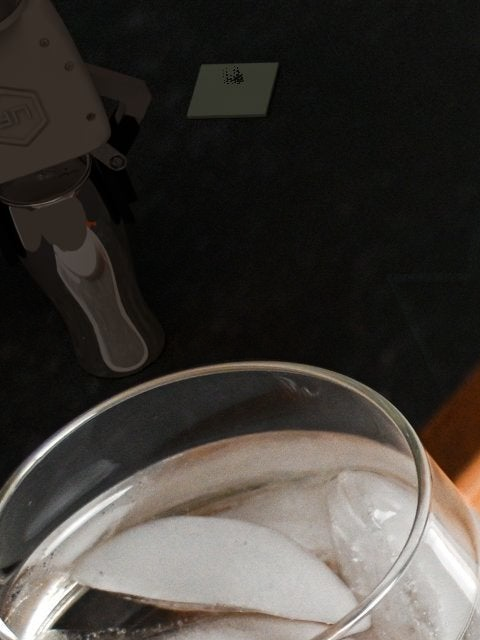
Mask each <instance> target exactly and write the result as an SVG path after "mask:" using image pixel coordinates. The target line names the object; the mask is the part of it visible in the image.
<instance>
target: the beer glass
mask: <svg viewBox="0 0 480 640" xmlns="http://www.w3.org/2000/svg"><path fill="white" fill-rule="evenodd" d="M0 219H1V221H2V224H3V226H4V229H5V231H6V233H7V235H8V237H9V239H10V241H11V243H12V245H13V247H14V249H15V251H16V253H17V255H18V257H19V260H20V262H21V263H22V264H23V266H24V267H25V269H26V270H27V272H28V273H29V275H30V276H31V277H32V279H33V280H34V281H35V283H36V284H37V285H38V287H39V288H40V289H41V291H42V292H43V293H44V295H45V296H47V298H48V299H49V300H50V302H51V303H52V304H53V306H54V307H55V309H56V310H57V311H58V313H59V314H60V315H61V317H62V319H63V320H64V322H65V324H66V327H67V329H68V331H69V335H70V338H71V343H72V347H73V351H74V355H75V358H76V360H77V362H78V364H79V366H80V367H81V368H82V369H83V370H84V371H85V372H86V373H88V374H90V375H93V376H95V377H98V378H104V379H119V378H127V377H129V376H132V374H133V375H136V374H138V373H140V372H142V371H143V370H142V369H143V367H145V366H147V365H149V364H150V363H151V362H153V360H154V362H156V360H158V358H159V357H160V355H161V354H162V352H163V351H164V348H165V344H166V332H165V330H164V327H163V326H162V324H161V322H160V321H159V319H158V318H157V317H156V315H155V314H154V312H153V311H152V309H150V308H151V307H149V306H148V303H147V302H146V301H145V299H144V297H143V295H142V291H141V289H140V287H139V286H140V285H139V283H138V279H137V275H136V269H135V264H134V260H133V259H134V258H133V255H132V249H131V246H130V241H129V237H128V234H127V230H126V227H125V223H124V221H123V219H122V217H121V215H120V212H119V210H118V208H117V206H116V203H115V201H114V199H113V197H112V194H111V192H110V190H109V188H108V186H107V184H106V182H105V179H104V177H103V175H102V172H101V170H100V168H99V166H97V163H96V162H95V160H94V158H93V155H92V154H90V153H88V154H86V155H83V156H80V157H78V158H75V159H72V160H69V161H67V162H64V163H61V164H58V165H55V166H52V167H50V168H47V169H44V170H41V171H38V172H35V173H32V174H29V175H26V176H24V177H21V178H18V179H15V180H12V181H9V182H6V183H3V184H0ZM158 356H159V357H158ZM154 362H153V363H154ZM137 370H140V372H139V371H137Z"/></svg>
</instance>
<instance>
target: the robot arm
mask: <svg viewBox="0 0 480 640" xmlns="http://www.w3.org/2000/svg"><path fill="white" fill-rule="evenodd" d="M101 97H104V98H108V99H111V100H114V101H118V106H117V107H116V108H115V109H114V110H113V112H112V114H111V116H110V118H108V115H107V112H106V109H105V106H104V103H103V101H102V99H101ZM152 98H153V96H152V93H151V91H150V89H149V87H148V85H147V83H146V82H145V81H144V80H143V79H140V78H137V77H134V76H131V75H127V74H124V73H122V72H118V71H114V70H111V69H108V68H105V67H101V66H99V65H95V64H91V63H89V62H86V61H84V60H83V57H82V56H81V54H80V52H79V50H78V48H77V46H76V44H75V42H74V38H73V37H72V35H71V33H70V31H69V29H68V28H67V26H66V25H65V22H64V21H63V18H62V17H61V16H60V14H59V13H58V10H57V9H56V8H55V5H53V3H52V1H51V0H0V184H3V183H6V182H9V181H12V180H15V179H18V178H21V177H24V176H26V175H29V174H32V173H35V172H38V171H41V170H44V169H47V168H50V167H52V166H55V165H58V164H61V163H64V162H67V161H69V160H72V159H75V158H78V157H80V156H83V155H86V154H88V153H90V154H91V156H92V157H94V159H95V161H96V164H97V165H98V166H97V167H98V169H99V171H100V173H101V174H102V176H103V178H104V180H105V182H106V184H107V186H108V188H109V190H110V192H111V194H112V197H113V199H114V201H115V203H116V206H117V208H118V210H119V212H120V215H121V217H122V220H123V222H124V225H126V224H128V226H131V225H134V224H136V223H137V221H136V218H135V216H134V214H133V211H132V209H131V206H130V204H132V203H135V202H138V201H139V197H138V195H137V193H136V191H135V189H134V186H133V184H132V181H131V179H130V177H129V174H128V172H127V169H126V167H127V166H128V159H127V155H128V154H129V153H130V150H131V149H132V146H133V145H134V143H135V141H136V139H137V137H138V135H139V133H140V131H141V128H140V124H141V123H142V121H143V120H144V117H145V115H146V113H147V111H148V108H149V106H150V103H151V101H152ZM0 250H1V252H2V255H3V256H4V259H5V261H6V262H7V265H8V266H9V268H12V267H15V266H18V265H19V263H20V262H21V260H20V258H19V256H18V255H17V253H16V251H15V249H14V247H13V245H12V243H11V241H10V239H9V237H8V235H7V233H6V231H5V229H4V226H3V224H2V221H1V219H0Z"/></svg>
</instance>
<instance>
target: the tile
mask: <svg viewBox="0 0 480 640" xmlns="http://www.w3.org/2000/svg"><path fill="white" fill-rule="evenodd" d="M234 66H235V67H234ZM237 67H238V69H237ZM226 68H227V69H226ZM234 69H235V71H233V70H234ZM279 69H280V64H279V62H245V63H241V62H239V63H213V64H212V63H210V64H207V63H206V64H201V65H200V67H199V72H198V75H197V79H196V82H195V85H194V89H193V93H192V96H191V100H190V103H189V106H188V110H187V113H186V118H187V119H188V120H197V119H198V120H199V119H200V120H201V119H233V118H234V119H236V118H237V119H240V118H267V116H268V113H269V107H270V104H271V100H272V97H273V92H274V89H275V86H276V85H275V84H276V81H277V78H278V77H277V76H278V73H279ZM223 70H224V71H223ZM237 70H239V72H240V73H239V75H241V74H243V75H242V77H243V80H244V81H243V82H240V84H237V83H239V82H236V83H234V82H235V81H232V82H230V81H231V80H228V82H226V81H227V79H226V78H227V77H228V79H230V78H232V80H233V79H234V77H233V76H235V77H237V76H236V74H238V72H236V71H237ZM226 71H227V73H226ZM234 72H235V74H234ZM223 73H224V74H223ZM226 74H228V76H226ZM230 75H232V76H230ZM223 76H224V77H223ZM240 78H241V77H240ZM240 78H239V79H240ZM224 80H225V81H224ZM236 81H237V80H236ZM241 81H242V80H241ZM224 82H225V83H224ZM227 83H229V84H227ZM232 83H233V84H232Z"/></svg>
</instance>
